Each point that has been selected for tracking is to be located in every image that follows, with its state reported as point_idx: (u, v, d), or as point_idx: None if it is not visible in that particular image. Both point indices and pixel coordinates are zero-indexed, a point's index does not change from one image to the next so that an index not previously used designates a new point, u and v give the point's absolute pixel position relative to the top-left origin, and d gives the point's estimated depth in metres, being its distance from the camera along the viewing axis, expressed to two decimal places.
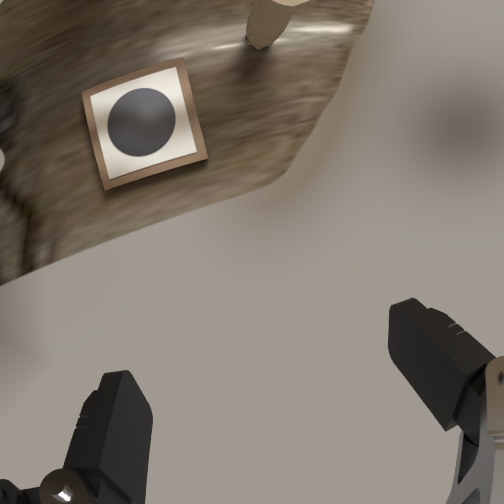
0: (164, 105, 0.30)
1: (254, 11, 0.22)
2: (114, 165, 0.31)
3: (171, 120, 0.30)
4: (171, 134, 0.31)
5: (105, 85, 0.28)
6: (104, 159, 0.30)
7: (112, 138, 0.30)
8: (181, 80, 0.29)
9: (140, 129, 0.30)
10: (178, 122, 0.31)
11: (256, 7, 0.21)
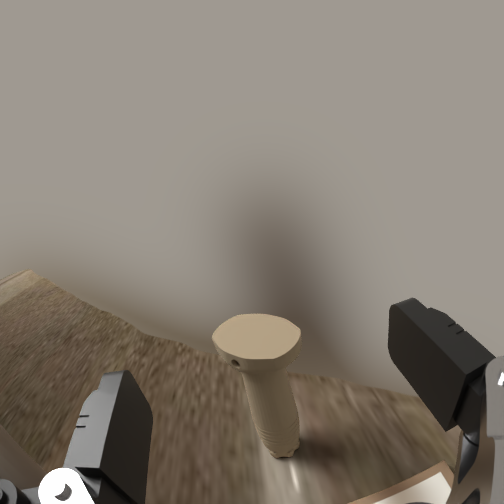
0: None
1: (274, 413, 0.22)
2: None
3: None
4: (424, 502, 0.15)
5: None
6: None
7: None
8: None
9: None
10: (407, 501, 0.16)
11: (272, 406, 0.22)
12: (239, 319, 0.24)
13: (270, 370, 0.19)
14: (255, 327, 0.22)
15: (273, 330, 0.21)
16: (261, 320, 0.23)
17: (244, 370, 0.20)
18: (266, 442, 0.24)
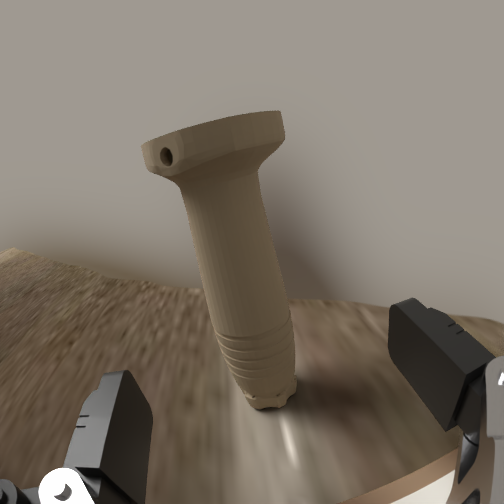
0: None
1: (243, 289, 0.13)
2: None
3: None
4: None
5: None
6: None
7: None
8: (402, 494, 0.08)
9: None
10: None
11: (238, 270, 0.13)
12: None
13: (224, 149, 0.10)
14: None
15: None
16: None
17: (179, 164, 0.11)
18: (237, 371, 0.15)
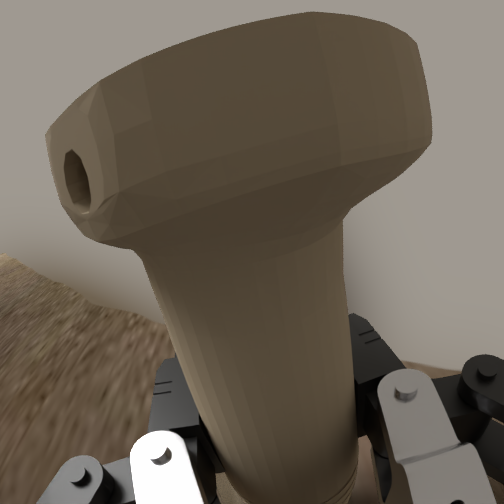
0: None
1: (293, 466, 0.05)
2: None
3: None
4: None
5: None
6: None
7: None
8: None
9: None
10: None
11: (287, 444, 0.05)
12: None
13: (291, 154, 0.02)
14: None
15: None
16: None
17: (108, 209, 0.03)
18: None
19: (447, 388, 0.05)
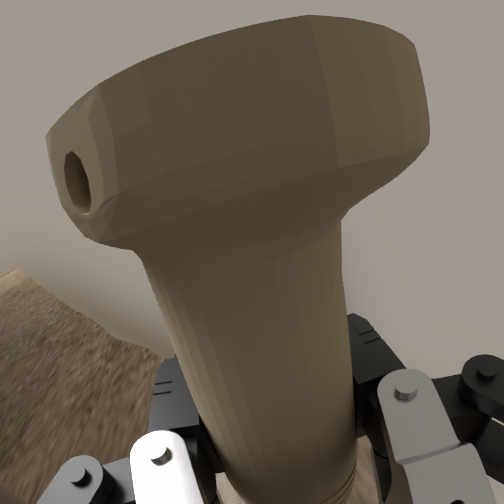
0: None
1: (292, 465, 0.05)
2: None
3: None
4: None
5: None
6: None
7: None
8: None
9: None
10: None
11: (286, 443, 0.05)
12: None
13: (288, 156, 0.02)
14: None
15: None
16: None
17: (108, 211, 0.03)
18: None
19: (447, 388, 0.05)
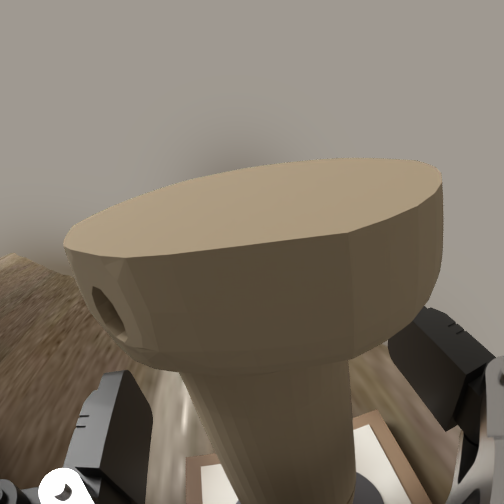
0: None
1: (298, 499, 0.06)
2: None
3: None
4: None
5: None
6: None
7: None
8: None
9: None
10: None
11: (293, 484, 0.05)
12: (182, 184, 0.07)
13: (312, 353, 0.03)
14: (228, 181, 0.06)
15: (303, 173, 0.05)
16: (253, 171, 0.06)
17: (147, 353, 0.03)
18: None
19: None
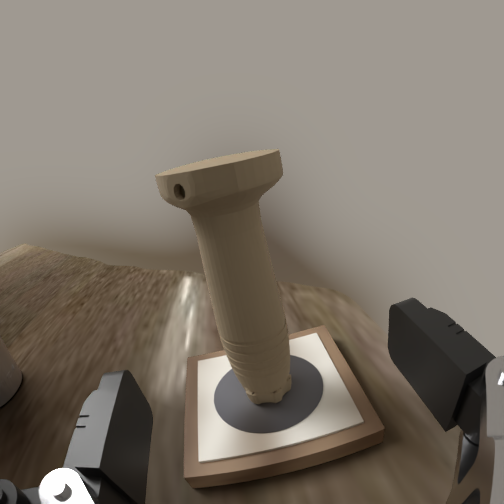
0: None
1: (245, 303, 0.15)
2: (337, 417, 0.17)
3: None
4: (292, 355, 0.23)
5: (189, 440, 0.17)
6: (326, 434, 0.16)
7: (289, 423, 0.17)
8: (219, 356, 0.25)
9: None
10: None
11: (241, 287, 0.15)
12: (197, 162, 0.17)
13: (229, 189, 0.12)
14: (216, 159, 0.15)
15: (240, 155, 0.14)
16: (226, 156, 0.16)
17: (191, 199, 0.13)
18: (239, 371, 0.17)
19: None
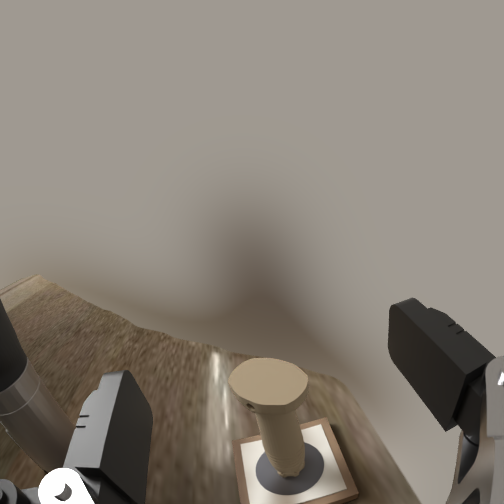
0: None
1: (282, 443, 0.23)
2: (331, 485, 0.25)
3: None
4: (304, 442, 0.31)
5: (243, 499, 0.25)
6: (324, 496, 0.24)
7: (303, 489, 0.25)
8: (254, 440, 0.33)
9: None
10: None
11: (281, 437, 0.23)
12: (252, 363, 0.25)
13: (281, 413, 0.20)
14: (267, 372, 0.24)
15: (283, 376, 0.23)
16: (272, 365, 0.24)
17: (258, 412, 0.21)
18: (275, 465, 0.26)
19: None
